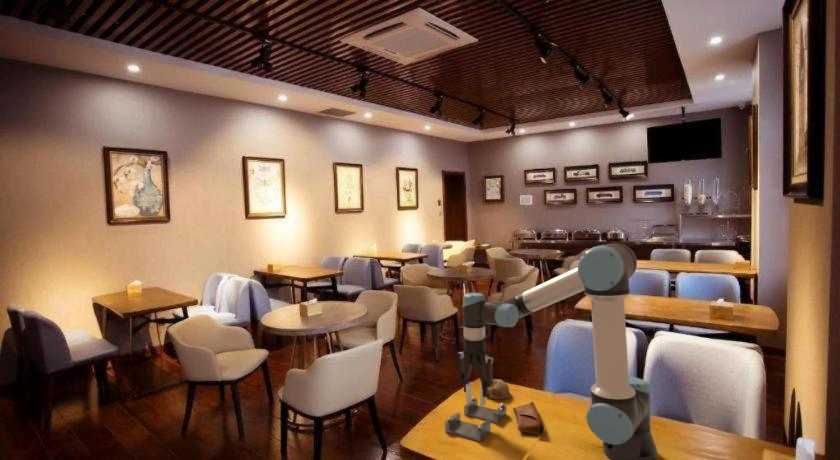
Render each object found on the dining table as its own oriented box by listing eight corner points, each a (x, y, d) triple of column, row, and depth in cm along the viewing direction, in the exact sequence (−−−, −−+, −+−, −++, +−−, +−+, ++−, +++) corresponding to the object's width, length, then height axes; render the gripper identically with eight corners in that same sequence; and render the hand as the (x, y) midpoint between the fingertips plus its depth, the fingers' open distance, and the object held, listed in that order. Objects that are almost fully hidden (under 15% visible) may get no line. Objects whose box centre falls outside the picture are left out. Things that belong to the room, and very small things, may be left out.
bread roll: (504, 410, 171) (513, 392, 170) (480, 396, 173) (489, 379, 172) (504, 399, 181) (513, 383, 180) (481, 387, 182) (490, 370, 181)
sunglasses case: (511, 406, 163) (522, 393, 163) (526, 418, 163) (537, 404, 163) (517, 430, 146) (530, 415, 145) (535, 443, 145) (547, 428, 145)
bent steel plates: (506, 414, 161) (505, 402, 161) (480, 441, 142) (479, 428, 142) (474, 407, 168) (473, 395, 168) (445, 432, 149) (444, 419, 149)
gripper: (502, 338, 152) (503, 404, 153) (457, 331, 162) (458, 394, 163) (493, 344, 146) (495, 413, 147) (446, 337, 156) (448, 401, 157)
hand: (475, 403), depth 155 cm, fingers open, 5 cm apart
